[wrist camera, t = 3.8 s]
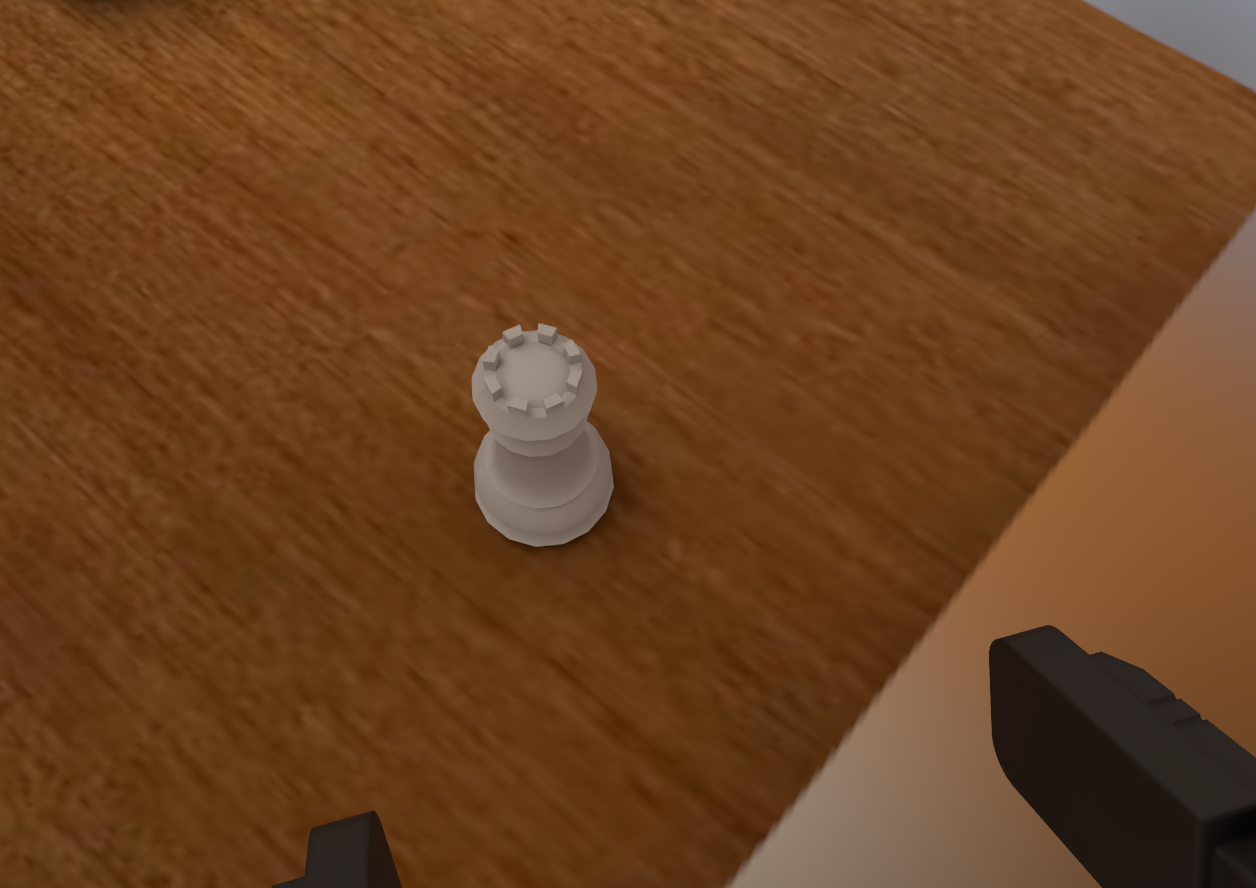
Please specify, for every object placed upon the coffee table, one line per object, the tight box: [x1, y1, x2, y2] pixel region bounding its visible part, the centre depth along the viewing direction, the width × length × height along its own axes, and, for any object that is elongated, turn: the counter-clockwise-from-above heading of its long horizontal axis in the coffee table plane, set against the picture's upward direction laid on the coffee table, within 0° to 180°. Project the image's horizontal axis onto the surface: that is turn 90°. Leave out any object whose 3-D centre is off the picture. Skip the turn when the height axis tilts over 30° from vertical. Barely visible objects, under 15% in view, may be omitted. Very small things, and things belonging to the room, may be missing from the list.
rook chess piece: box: [472, 323, 614, 547], centre depth 29 cm, size 4×4×8 cm
